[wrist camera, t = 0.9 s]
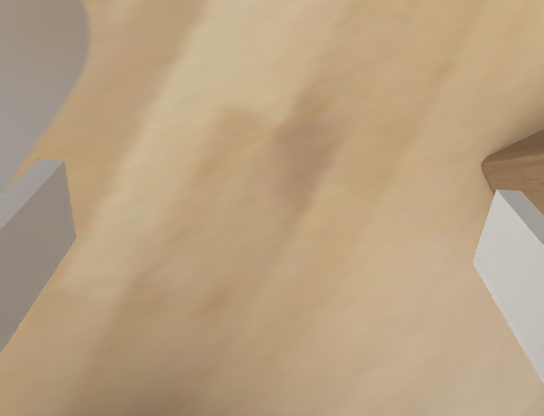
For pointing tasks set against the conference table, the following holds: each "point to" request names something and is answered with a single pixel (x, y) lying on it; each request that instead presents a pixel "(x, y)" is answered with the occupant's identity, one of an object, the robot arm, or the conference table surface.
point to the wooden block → (519, 169)
